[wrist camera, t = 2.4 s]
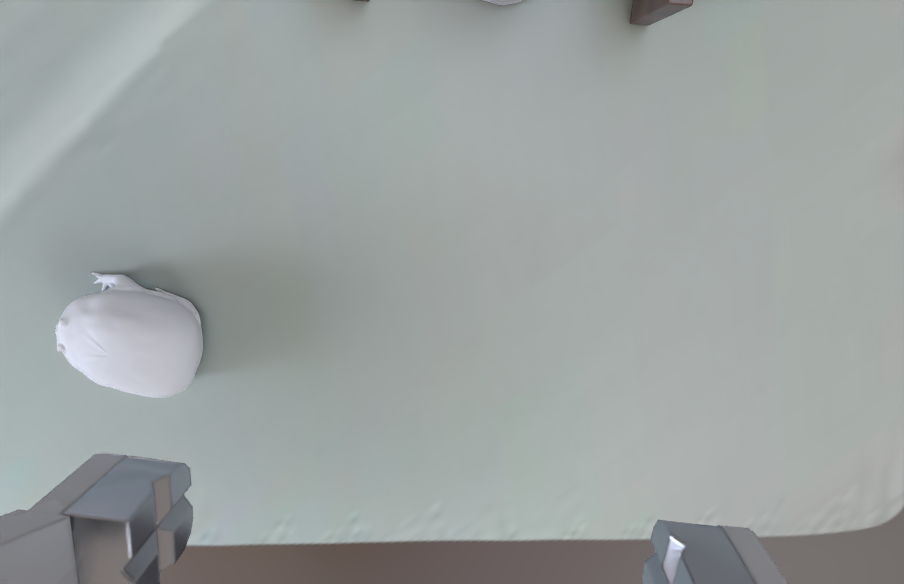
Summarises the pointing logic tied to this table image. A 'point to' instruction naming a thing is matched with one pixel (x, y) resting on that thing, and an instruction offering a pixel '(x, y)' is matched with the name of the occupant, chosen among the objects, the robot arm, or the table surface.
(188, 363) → the white frog figurine
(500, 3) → the rook chess piece
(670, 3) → the wooden enclosure
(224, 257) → the table surface
